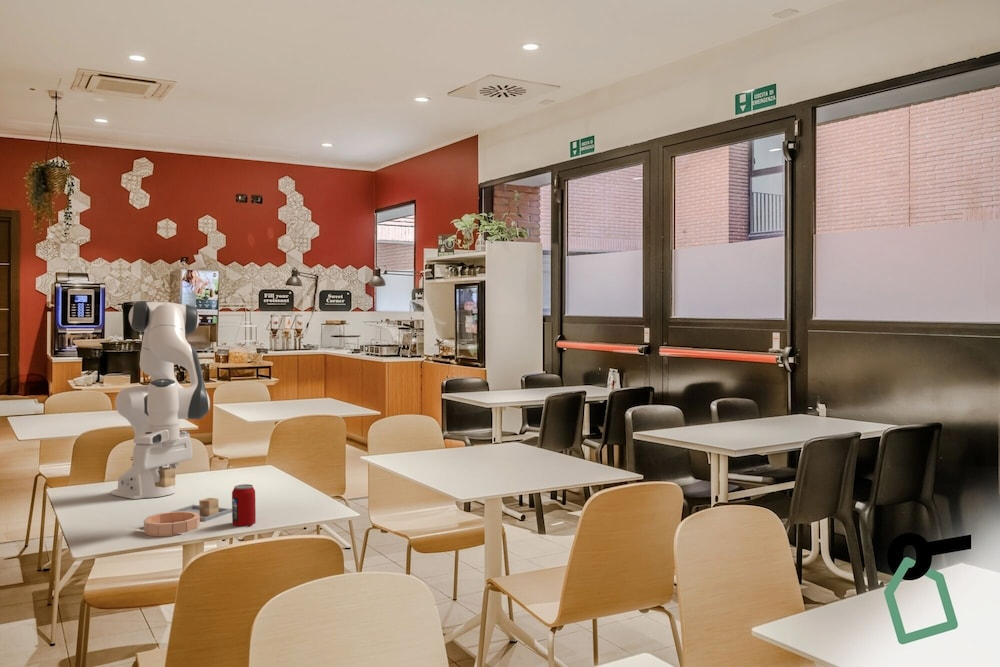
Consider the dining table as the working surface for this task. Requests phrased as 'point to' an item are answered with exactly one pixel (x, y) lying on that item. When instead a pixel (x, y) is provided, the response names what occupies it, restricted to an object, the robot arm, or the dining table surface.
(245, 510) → the beverage can
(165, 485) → the block left
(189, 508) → the tray
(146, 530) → the bowl
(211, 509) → the block right
